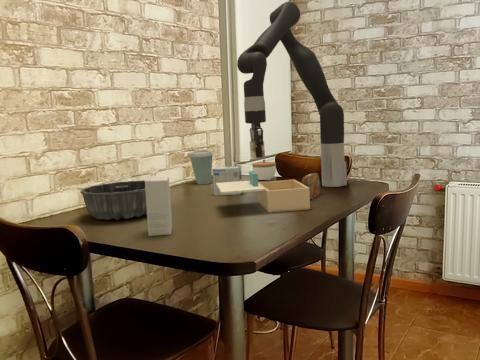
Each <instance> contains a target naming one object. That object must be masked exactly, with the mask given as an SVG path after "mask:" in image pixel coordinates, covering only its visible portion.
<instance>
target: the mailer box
mask: <svg viewBox="0 0 480 360" xmlns="http://www.w3.org/2000/svg"><path fill="white" fill-rule="evenodd" d="M258 184H260V185H261V186H262V187H263V188H264V189H265V191H256V192H257V193H256V194H257V202H258V204H259V205H260V206H261V207H262V208H263V209H264V210H265V211H266V212H267V214H275V213H283V212H285V213H286V212H295V211H297V212H298V211H307V210H311V199H310V192H309V187H307V186H305V185H303V184H302V182H300V181H298V180H296V179H284V180H274V181H273V180H270V181H258Z"/></svg>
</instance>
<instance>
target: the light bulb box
mask: <svg viewBox="0 0 480 360" xmlns="http://www.w3.org/2000/svg"><path fill="white" fill-rule="evenodd" d="M241 169H242V167H241V165H231V166H227V165H226V166H214V167H212V181H213V182H212V184H213V196H215V197H216V196H240V195H241V194H242V193H243V192H240V193H227V194H221V192H220V191H219V189H218V187H217V185H216V183H223V182H236V181H243V180H242V171H241Z"/></svg>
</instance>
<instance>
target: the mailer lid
mask: <svg viewBox="0 0 480 360" xmlns="http://www.w3.org/2000/svg"><path fill="white" fill-rule="evenodd" d="M248 177H249V178H248V180H242V181H236V182H223V183H216V185H217V187H218V189H219V191H220V192H221V194H227V193H240V192H242V193H250V192H251V193H252V192H257V191H265V189H264V188H263V187H262V186H261V185H260V184H258V182H259V181H258V174H257V173H256V172H254V171H253V170H251V171H250V170H249V171H248Z"/></svg>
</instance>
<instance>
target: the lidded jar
mask: <svg viewBox="0 0 480 360" xmlns="http://www.w3.org/2000/svg"><path fill="white" fill-rule="evenodd" d="M276 166H277V163H276V162H275V161H266V159H262V161H259V162H253V163H252V171H254V172H256V173H257V174H258V180H270V181H272V180H271V179H273V178H274V177H275V175H276V171H277V169H276V168H277V167H276Z"/></svg>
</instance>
